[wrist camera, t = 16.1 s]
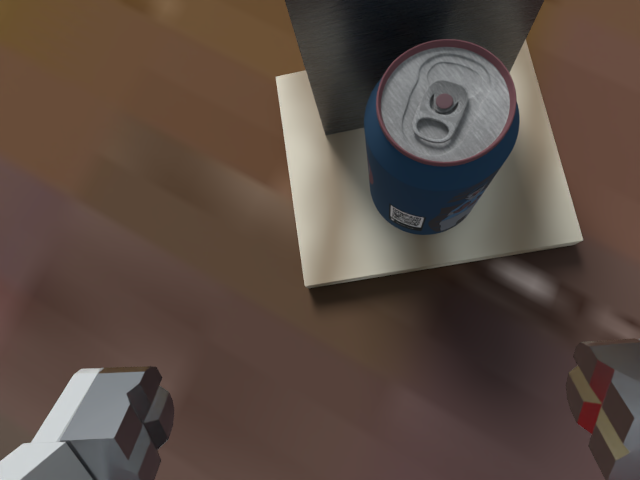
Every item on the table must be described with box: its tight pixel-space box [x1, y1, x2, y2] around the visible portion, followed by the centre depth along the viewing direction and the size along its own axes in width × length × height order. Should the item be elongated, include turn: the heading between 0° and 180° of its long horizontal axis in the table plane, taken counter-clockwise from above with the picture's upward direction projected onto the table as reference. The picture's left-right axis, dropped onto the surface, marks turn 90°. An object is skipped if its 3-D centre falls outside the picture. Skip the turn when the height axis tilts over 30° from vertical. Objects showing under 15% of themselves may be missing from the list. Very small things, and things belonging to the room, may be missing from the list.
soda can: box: [364, 39, 520, 235], centre depth 24 cm, size 7×7×12 cm
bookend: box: [285, 0, 544, 135], centre depth 25 cm, size 12×4×14 cm, turn 98°
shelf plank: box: [276, 39, 583, 288], centre depth 32 cm, size 18×16×2 cm
